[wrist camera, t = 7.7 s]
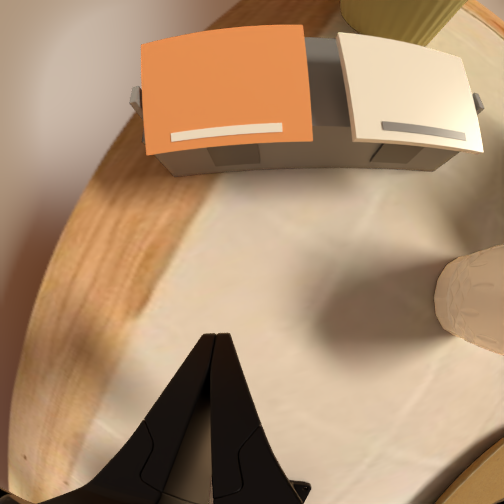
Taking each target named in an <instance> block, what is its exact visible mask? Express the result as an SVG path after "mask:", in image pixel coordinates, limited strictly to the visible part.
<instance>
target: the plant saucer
mask: <svg viewBox="0 0 504 504" xmlns="http://www.w3.org/2000/svg"><path fill="white" fill-rule="evenodd" d="M502 498H504V437H503V438H502V439H501V440H499V441H498V442H497V443H495V444H494V445H493V446H491V447H490V448H489V449H488V450H487V451H485V452H484V453H483V454H482V455H481V456H480V457H479V458H477V459H476V460H475V461H474V462H473V463H472V464H471V465H470V466H469V467H468V468H467V469H466V470H465V471H464V472H463V473H462V474H461V475H460V476H459V477H458V478H457V479H456V480H455V481H454V482H453V483H452V484H451V485H450V486H449V487H448V488H447V489H446V491H445V492H444V493H443V494H442V495H441V496H440V498H439V499H438V500H437V501H436V502H435V504H492V503H494V502H496V501H498V500H500V499H502Z"/></svg>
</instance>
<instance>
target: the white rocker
mask: <svg viewBox="0 0 504 504" xmlns="http://www.w3.org/2000/svg"><path fill="white" fill-rule="evenodd" d="M336 43H337V48H338V52H339V57H340V62H341V67H342V73H343V78H344V84H345V90H346V96H347V103H348V110H349V117H350V124H351V133H352V141H353V142H370V143H387V144H400V145H412V146H421V147H430V148H439V149H446V150H453V151H460V152H466V153H473V154H479V153H483V152H484V151H483V145H482V139H481V133H480V127H479V122H478V118H477V113H476V109H475V104H474V100H473V96H472V92H471V89H470V85H469V82H468V78H467V75H466V72H465V69H464V66H463V63H462V60H461V58H460V57H457V56H454V55H451V54H448V53H445V52H441V51H438V50H434V49H431V48H427V47H423V46H419V45H415V44H411V43H406V42H402V41H397V40H392V39H386V38H381V37H374V36H368V35H360V34H352V33H342V32H338V34H337V36H336Z"/></svg>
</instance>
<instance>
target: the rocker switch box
mask: <svg viewBox="0 0 504 504" xmlns="http://www.w3.org/2000/svg"><path fill="white" fill-rule="evenodd" d="M304 39H305V47H306V56H307V66H308V77H309V88H310V101H311V115H312V132H313V141H311V142H273V143H254V144H240V145H227V146H216V147H207V148H198V149H189V150H181V151H174V152H167V153H160V154H154V155H155V157H156V158H157V159H158V160H159V161H160V162H161V163H162V164H163V165H164V166H165V167H166V168H167V169H168V170H169V172H170V173H171V174H172V175H173V176H174V177H179V176H188V175H197V174H208V173H219V172H232V171H246V170H263V169H285V168H384V169H406V170H422V171H435V170H436V169H437V168H439V167H440V166H442V165H443V164H444V163H446V162H447V161H448V160H450V159H451V158H452V157H454V156H455V155H456V154H458V153H459V152H460V151H453V150H446V149H439V148H430V147H421V146H412V145H400V144H387V143H370V142H353V141H352V133H351V124H350V117H349V110H348V103H347V96H346V90H345V84H344V78H343V73H342V67H341V62H340V57H339V52H338V48H337V43H336V39H331V38H313V37H304ZM472 96H473V100H474V104H475V109H476V113H477V115H478V114H479V113H480V112H481V111H482V110H483V109H484V106H483V104H482V101H481V99H480V97H479V95H478V94H477V93H474V94H473V95H472ZM129 103H130V104H131V105H132V107H133V108H134V110H135V111H136V112H137V113H138V115H139V116H140V117H141V118H142V120H143V104H142V90H141V88H140V87H139V86H136V87H133V88H132V93H131V97H130V102H129ZM143 121H144V120H143ZM142 143H143V144H144V145H145V133H144V129H143V137H142ZM145 146H146V145H145Z"/></svg>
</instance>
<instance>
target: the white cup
mask: <svg viewBox="0 0 504 504" xmlns="http://www.w3.org/2000/svg"><path fill="white" fill-rule="evenodd" d="M434 303H435V313H436V316H437V318H438V320H439V322H440V324H441V326H442V328H443V329H444V330H446V331H448V332H449V333H451V334H453V335H454V336H457V337H460V338H463V339H464V340H465V341H467V342H470V343H472V344H475V345H477V346H479V347H481V348H484V349H486V350H489V351H492V352H495V353H497V354H500V355H503V356H504V244H501V245H497V246H494V247H491V248H488V249H484V250H480V251H478V252H475V253H473V254H470V255H466V256H461V257H458V258H457V259H455V260H453V261H452V262H450V263H448V264H447V265H446V266H445V268H444V270H443V271H442V273H441V275H440V276H439V278H438V280H437V285H436V289H435V294H434Z"/></svg>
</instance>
